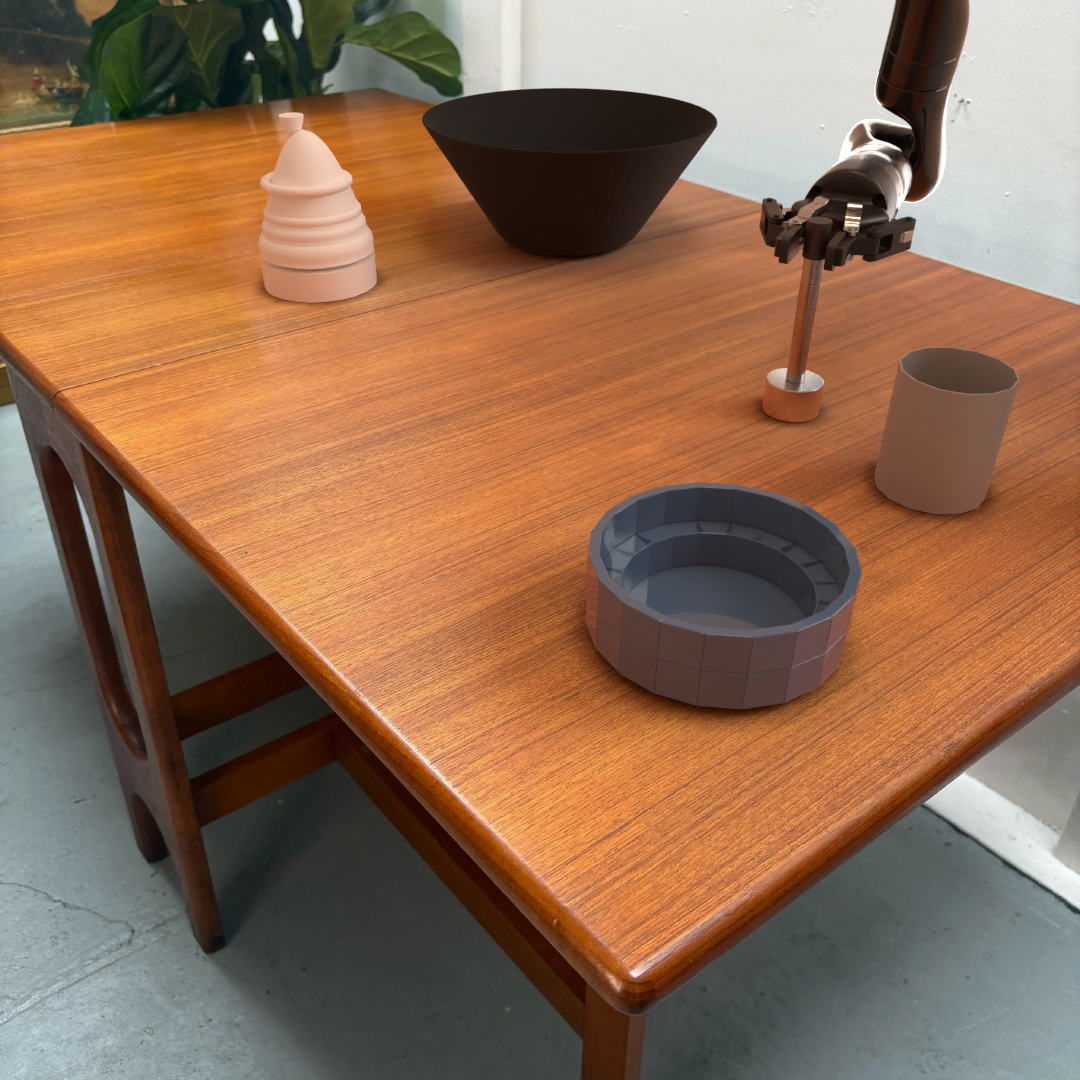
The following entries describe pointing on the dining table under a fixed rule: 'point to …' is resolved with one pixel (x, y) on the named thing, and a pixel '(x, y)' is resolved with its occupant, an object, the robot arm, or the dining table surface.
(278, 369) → the dining table surface
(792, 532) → the bowl
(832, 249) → the robot arm
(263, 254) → the honey pot
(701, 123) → the bowl
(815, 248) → the metal rod on disc
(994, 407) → the cup
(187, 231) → the dining table surface
